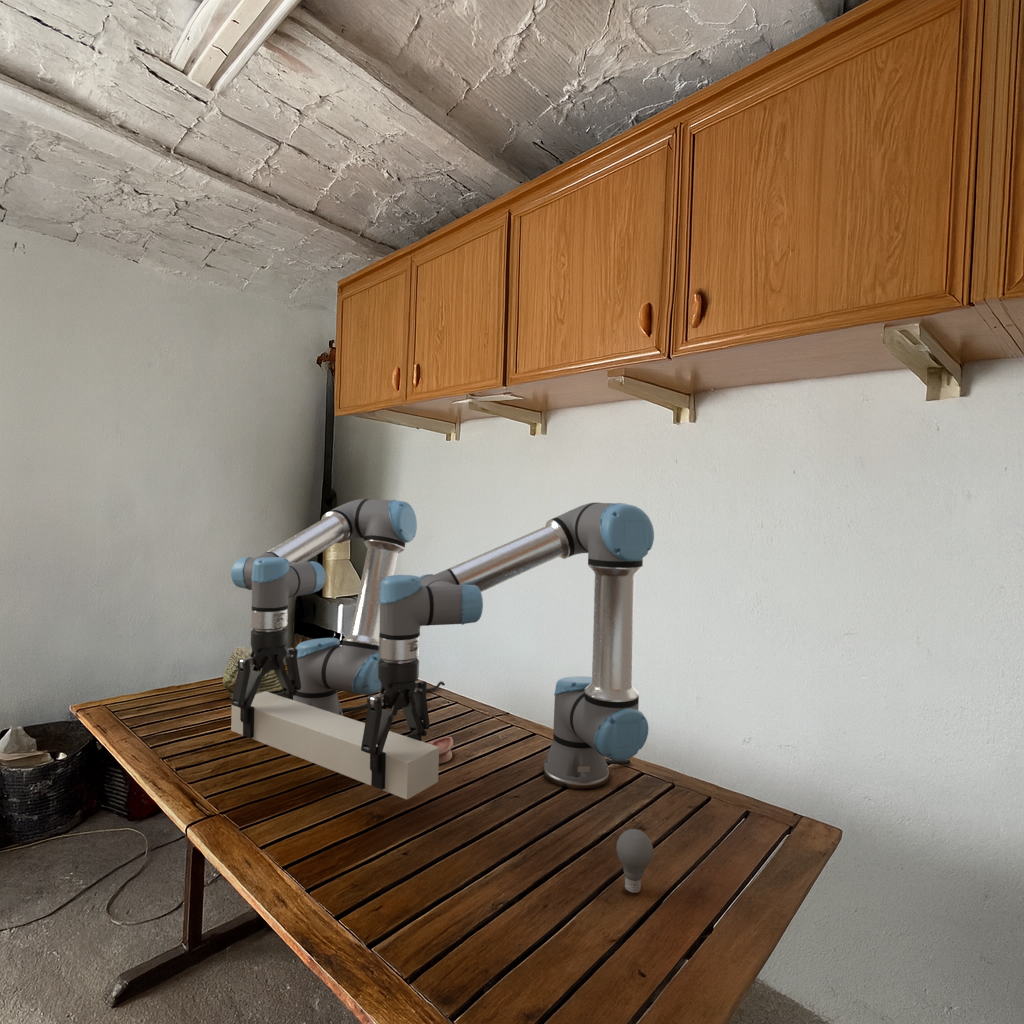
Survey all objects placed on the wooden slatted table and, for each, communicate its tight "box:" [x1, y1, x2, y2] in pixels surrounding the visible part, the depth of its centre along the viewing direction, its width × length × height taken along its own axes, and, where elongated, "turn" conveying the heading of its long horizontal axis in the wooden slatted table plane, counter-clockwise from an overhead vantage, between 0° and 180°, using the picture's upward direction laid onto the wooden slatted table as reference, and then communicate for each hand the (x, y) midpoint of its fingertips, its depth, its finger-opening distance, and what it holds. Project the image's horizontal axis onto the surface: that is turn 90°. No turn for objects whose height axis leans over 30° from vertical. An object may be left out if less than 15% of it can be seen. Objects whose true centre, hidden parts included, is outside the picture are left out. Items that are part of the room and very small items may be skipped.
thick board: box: [230, 691, 440, 801], centre depth 129 cm, size 52×9×7 cm, turn 57°
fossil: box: [222, 646, 284, 699], centre depth 198 cm, size 9×18×15 cm, turn 132°
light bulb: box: [615, 828, 654, 894], centre depth 106 cm, size 6×6×10 cm
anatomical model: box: [427, 736, 454, 765], centre depth 156 cm, size 13×4×12 cm
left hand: (267, 729), depth 140 cm, fingers closed on thick board, 9 cm apart
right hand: (396, 777), depth 119 cm, fingers closed on thick board, 9 cm apart
